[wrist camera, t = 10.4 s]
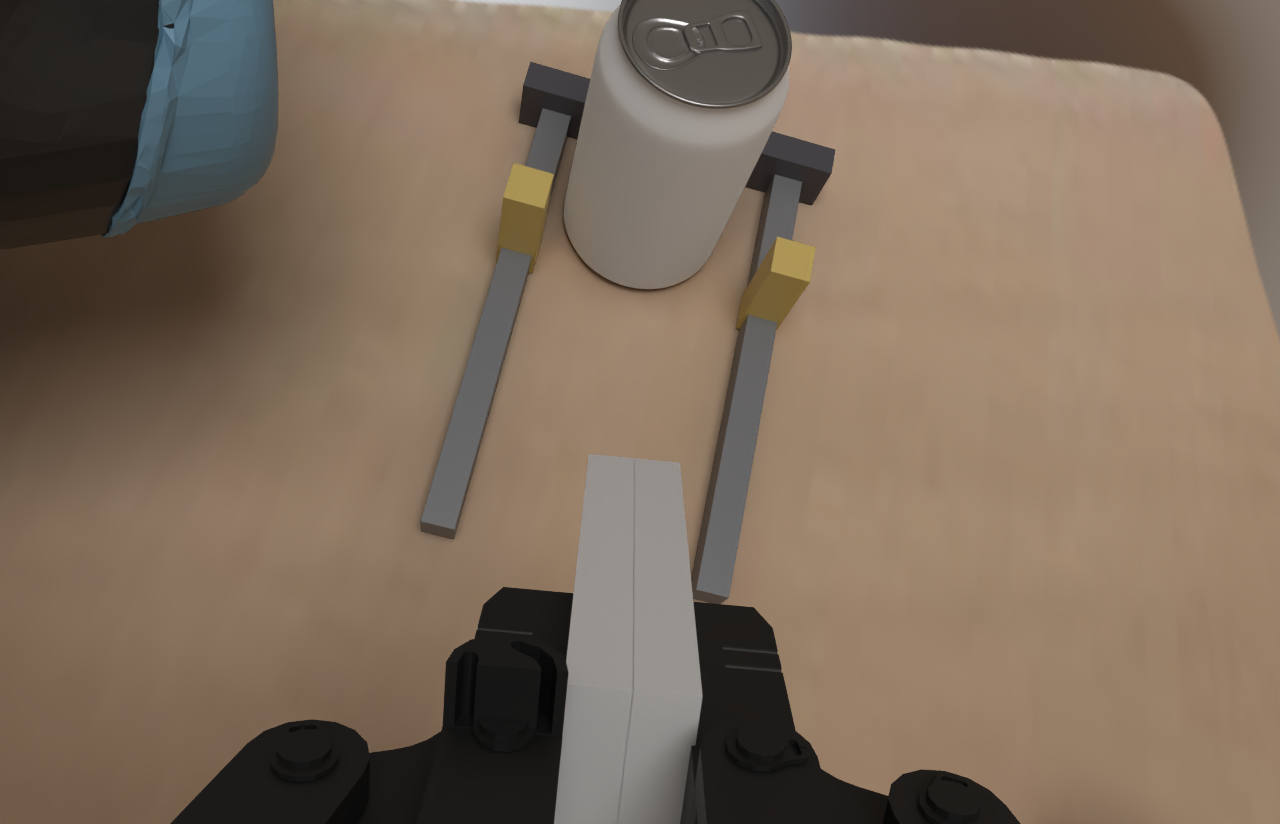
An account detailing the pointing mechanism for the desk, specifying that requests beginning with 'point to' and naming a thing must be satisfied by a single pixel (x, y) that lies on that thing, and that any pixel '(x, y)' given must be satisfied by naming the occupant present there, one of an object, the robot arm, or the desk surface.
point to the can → (672, 133)
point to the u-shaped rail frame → (770, 295)
